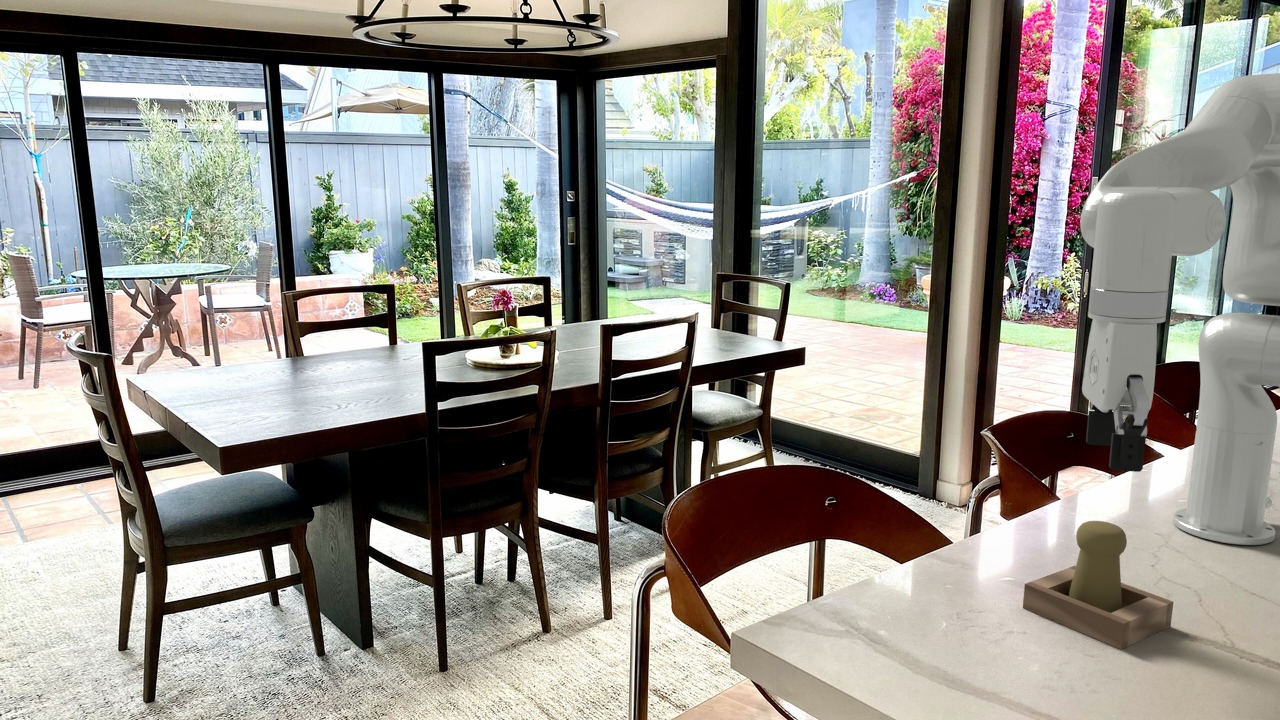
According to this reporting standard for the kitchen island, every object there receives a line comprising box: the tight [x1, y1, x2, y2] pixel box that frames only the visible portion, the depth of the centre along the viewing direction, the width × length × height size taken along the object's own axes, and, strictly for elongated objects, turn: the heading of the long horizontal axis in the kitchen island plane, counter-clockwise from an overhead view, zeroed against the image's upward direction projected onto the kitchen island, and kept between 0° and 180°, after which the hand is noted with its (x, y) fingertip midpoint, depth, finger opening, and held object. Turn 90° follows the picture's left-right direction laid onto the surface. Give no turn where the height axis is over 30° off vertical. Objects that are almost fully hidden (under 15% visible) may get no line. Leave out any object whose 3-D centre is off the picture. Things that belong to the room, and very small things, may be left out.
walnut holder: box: [1022, 565, 1174, 650], centre depth 108 cm, size 10×12×3 cm
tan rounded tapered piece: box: [1069, 520, 1128, 613], centre depth 108 cm, size 6×6×11 cm
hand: (1112, 456), depth 105 cm, fingers open, 9 cm apart
